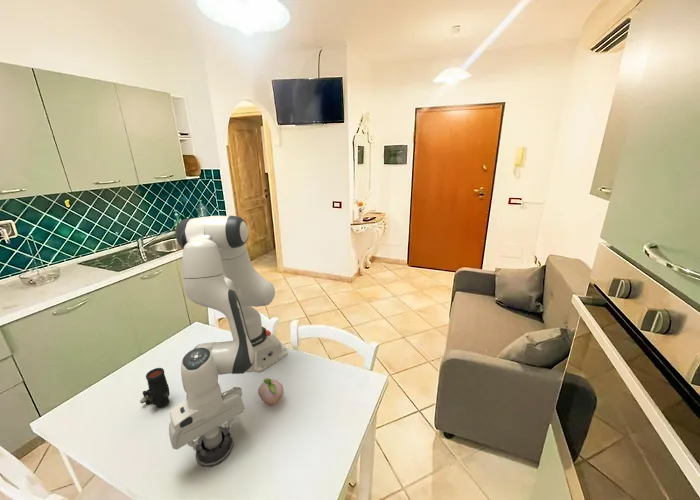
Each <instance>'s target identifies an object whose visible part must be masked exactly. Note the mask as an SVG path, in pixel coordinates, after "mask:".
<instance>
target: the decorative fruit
mask: <svg viewBox="0 0 700 500" xmlns="http://www.w3.org/2000/svg"><path fill="white" fill-rule="evenodd" d="M257 391H258V392H257V394H258V396H259V398H260V400H261V401H263V403H264V404H266V405H267V406H276V405H278V404H279V403H280V401H281V400H282V398H283V396H284V393H285V391H284V385H283V383H281V382H280V380H278V379H276V378H268V377H267V378H264V379H263V382H262V383H260V385H259V387H258V390H257Z"/></svg>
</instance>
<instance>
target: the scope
mask: <svg viewBox="0 0 700 500" xmlns="http://www.w3.org/2000/svg"><path fill="white" fill-rule="evenodd" d="M145 379H146V381H147V386H148V389H147V390H143V391H142V395H143V397H142V398H141V399H140V400H139V403H140V404H145V405H147V406H149V405H153V406H155V407H156V408H157V409H159V410H160V409H164V408H165V407H167V406H168V405H169V404H170V398H169V396H170V395H171V394H170V387H169V384H168V381H167V377H166V375H165V369H164V368H162V367H156V368H153V369H151V370H149V371H148V372H147V373H146V374H145Z"/></svg>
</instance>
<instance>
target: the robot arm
mask: <svg viewBox="0 0 700 500" xmlns="http://www.w3.org/2000/svg"><path fill="white" fill-rule="evenodd" d="M248 238H249V229H248V224H247V222H246V221H245V220H244V219H243V218H242V217H241V216H237V215H229V216H228V215H210V216H200V217H188V218H185V219H182V220H180V221H179V222H178V224H177V226H176V227H175V239H176V242H177V243H178V245H179V246H180V248H181V249H182V250H183V251H182V256H181V257H182V259H181V277H182V287H183V291H184V294H185V297H187V298H188V299H189V301H191V302H192V303H194V304H196V305H199V306H201V307H205V308H209V309H212V310H216V311H217V312H219V313H221V314H223V315H224V316H225V317H226V319H227V321H228V325H229V329H230V332H231V337H232V340H227V341H217V342H216V341H214V342H212V341H211V342H205V343H199V344H197V345H196V346H195V347H194V348H193V349H191V350H189V351H188V352H187V353H186V354H185V355H184V356H183V358H182V360H181V365H180V376H181V382H182V387H183V390H184V392H185V394H186V397H185V399H184V400H183V401H181V402H180V403H179V404H178V405H176V406H174V407H173V408H172V409H171V410H170V412H169V416H170V422H169V424H168V435H169V440H170V443H171V447H172V449H173V450H179V449H180V448H183V447H184V446H186V445H187V446H189V447H190V448H191V447H192V450H193V452H196V449H198V448H199V444H198V442H197V440H198V438H199V437H200V436H202V435H204V434H205V433H207V432H209V431H211V430H213V429H214V428H216V427H218V426H222V425H223V424H224V427H225V429H226V431H229V432H230V430H232V425H233V422H234V420H235V418H236V417H237V416H239V415H241V414H242V413H244V411H245V409H246V408H245V403H244V400H243V398H242V396H243V388H241V387H239V386H235V387H232V388H230V389H228V390H225V391H224V392H222V390H221V386H220V384H219V376H221V375H231V374H232V375H235V374H237V375H241V374H245V373H246V372H255V373H256V372H257V373H262V372H264V371H265V370H267V369H268V368H270V367H271V366H273V365H274V364H275V363H276V364H277V362H279V361H280V360H282V359H283V358H285V357H286V356H287V355H288V353H289V352H288V349H287V347H286V345H285V344H284V343H282V342H281V341H280V339H279V338H278V337H276V336H275V335H274V334H272V332H271V331H270V330H268V329H267V328H266V327H264V326H263V324H262V316H261V314H260V312H259V311H258V310H257V309H255V308H254V307H256V308H257V307H265V306H269V305H271V303H273V300H274V299H275V295H276V291H275V289H276V288H275V286H274V284H273V283H272V282H271V281H269V280H268V279H265V278H264V277H263V276H262V275H261V274H260V273H259V272H258V271H257V270H256V269H255V267H254V265H253V264H252V263H253V262H251V261H252V260H251V258H250V255H249V252H248V248H247V245H246V243H247V241H248Z"/></svg>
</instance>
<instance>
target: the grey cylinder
mask: <svg viewBox="0 0 700 500" xmlns="http://www.w3.org/2000/svg"><path fill="white" fill-rule="evenodd" d="M203 441H204V446H205V450H206V451H210V450H214V449H216V448H218V447H219V446H220V445H221V444H222V443H223V439H222V434H221V429H220V427H219V426H218V427H216V428H214V429H213V430H211V431H209V432H207V433H205V434H204V435H203Z"/></svg>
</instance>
